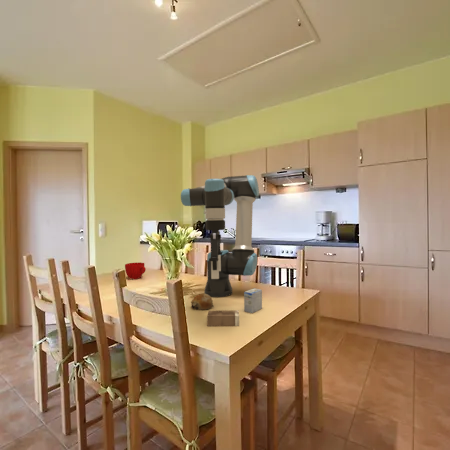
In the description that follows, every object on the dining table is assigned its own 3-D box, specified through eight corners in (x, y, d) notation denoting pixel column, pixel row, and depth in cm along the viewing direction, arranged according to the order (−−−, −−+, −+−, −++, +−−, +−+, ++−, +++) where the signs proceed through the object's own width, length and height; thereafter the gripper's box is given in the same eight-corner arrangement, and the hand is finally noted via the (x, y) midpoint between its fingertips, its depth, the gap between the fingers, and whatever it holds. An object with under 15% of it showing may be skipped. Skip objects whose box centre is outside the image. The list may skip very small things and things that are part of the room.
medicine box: (254, 306, 124) (253, 287, 124) (262, 308, 121) (262, 289, 121) (243, 311, 118) (243, 291, 118) (252, 313, 115) (252, 293, 115)
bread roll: (212, 317, 121) (219, 300, 122) (191, 310, 118) (198, 293, 119) (207, 310, 131) (213, 295, 131) (187, 303, 128) (194, 287, 129)
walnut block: (208, 310, 108) (238, 310, 108) (208, 320, 108) (238, 320, 108) (207, 315, 102) (239, 315, 102) (207, 326, 102) (239, 326, 102)
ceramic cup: (137, 281, 178) (137, 266, 178) (121, 279, 188) (120, 264, 187) (152, 278, 189) (152, 263, 189) (136, 275, 198) (136, 262, 198)
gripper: (208, 219, 117) (209, 268, 118) (201, 220, 92) (202, 282, 93) (226, 219, 117) (227, 268, 117) (223, 220, 92) (224, 282, 92)
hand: (216, 274), depth 105 cm, fingers open, 13 cm apart
